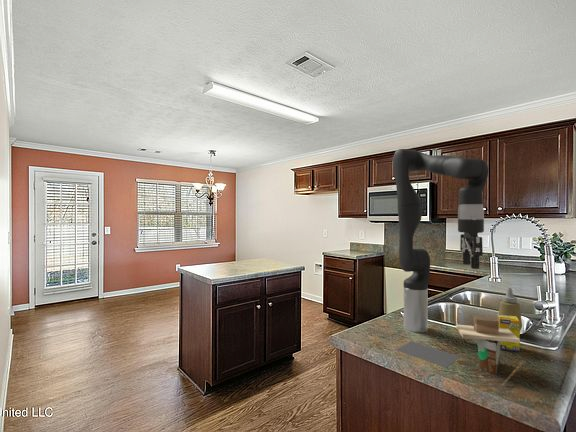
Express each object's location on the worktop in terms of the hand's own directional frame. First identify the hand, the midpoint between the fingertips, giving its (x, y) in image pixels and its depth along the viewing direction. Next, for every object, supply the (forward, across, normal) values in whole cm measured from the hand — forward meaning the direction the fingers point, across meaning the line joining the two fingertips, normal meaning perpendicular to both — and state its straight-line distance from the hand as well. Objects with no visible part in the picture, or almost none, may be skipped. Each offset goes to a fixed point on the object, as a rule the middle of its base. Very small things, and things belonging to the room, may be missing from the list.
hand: (470, 266), depth 105 cm
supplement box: (+30, -10, +15) cm, 35 cm away
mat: (+30, +2, -14) cm, 33 cm away
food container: (+30, +7, +2) cm, 31 cm away
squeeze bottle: (+30, -26, +22) cm, 46 cm away
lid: (+20, +7, +2) cm, 21 cm away
